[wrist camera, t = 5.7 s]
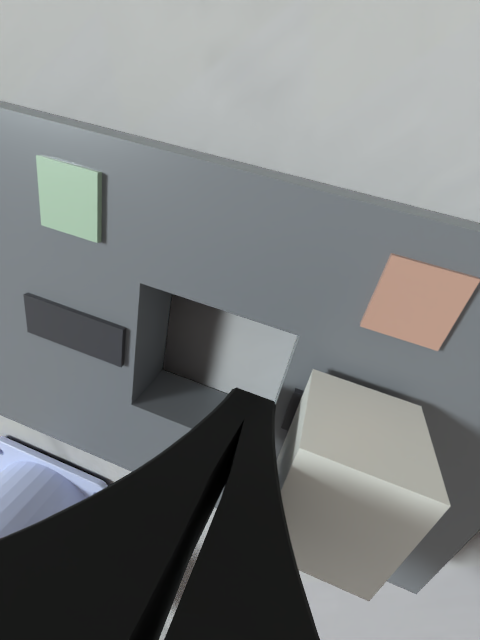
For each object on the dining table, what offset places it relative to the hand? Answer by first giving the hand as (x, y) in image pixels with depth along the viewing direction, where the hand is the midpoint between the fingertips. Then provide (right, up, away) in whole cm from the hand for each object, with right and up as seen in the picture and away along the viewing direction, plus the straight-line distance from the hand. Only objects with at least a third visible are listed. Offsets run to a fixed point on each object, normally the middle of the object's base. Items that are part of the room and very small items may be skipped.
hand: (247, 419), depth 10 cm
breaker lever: (+3, -1, 0) cm, 3 cm away
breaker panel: (-2, +2, +4) cm, 5 cm away
